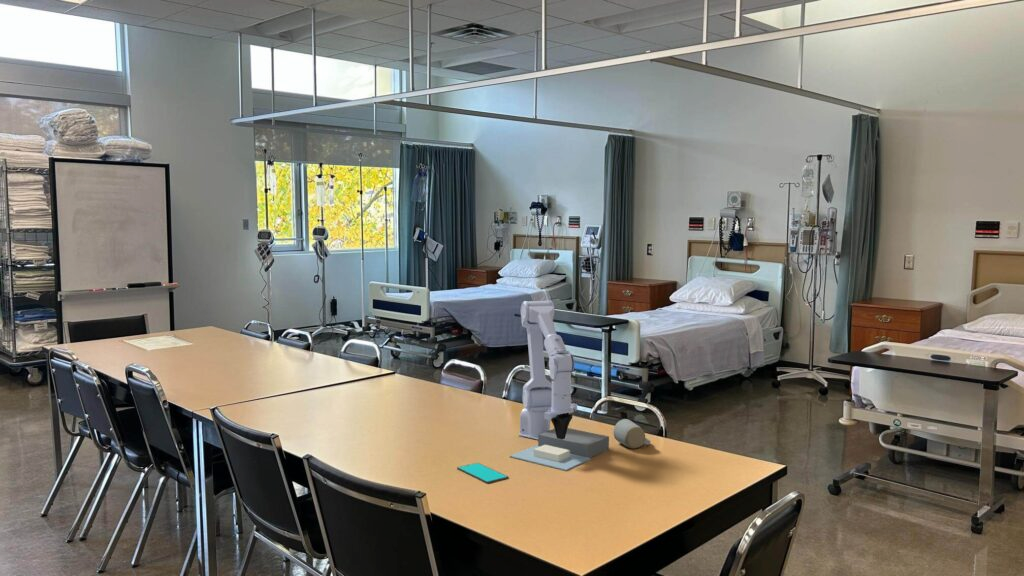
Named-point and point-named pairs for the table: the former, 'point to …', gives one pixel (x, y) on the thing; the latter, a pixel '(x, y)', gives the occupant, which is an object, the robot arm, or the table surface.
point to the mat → (562, 465)
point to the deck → (576, 442)
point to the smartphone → (482, 473)
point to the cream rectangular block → (551, 453)
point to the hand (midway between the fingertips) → (560, 438)
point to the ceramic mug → (630, 434)
